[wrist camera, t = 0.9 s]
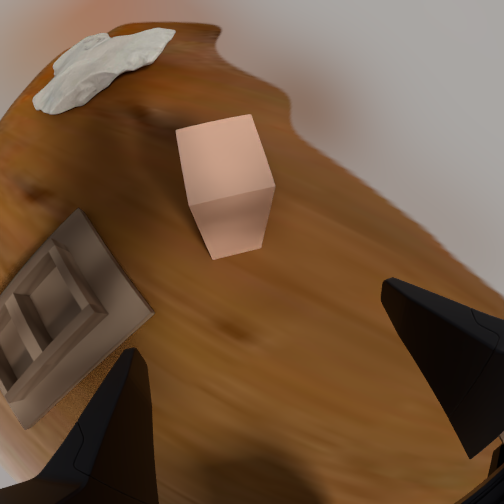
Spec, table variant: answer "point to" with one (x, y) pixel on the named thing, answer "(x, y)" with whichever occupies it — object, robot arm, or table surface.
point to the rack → (63, 318)
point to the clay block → (227, 183)
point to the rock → (98, 67)
